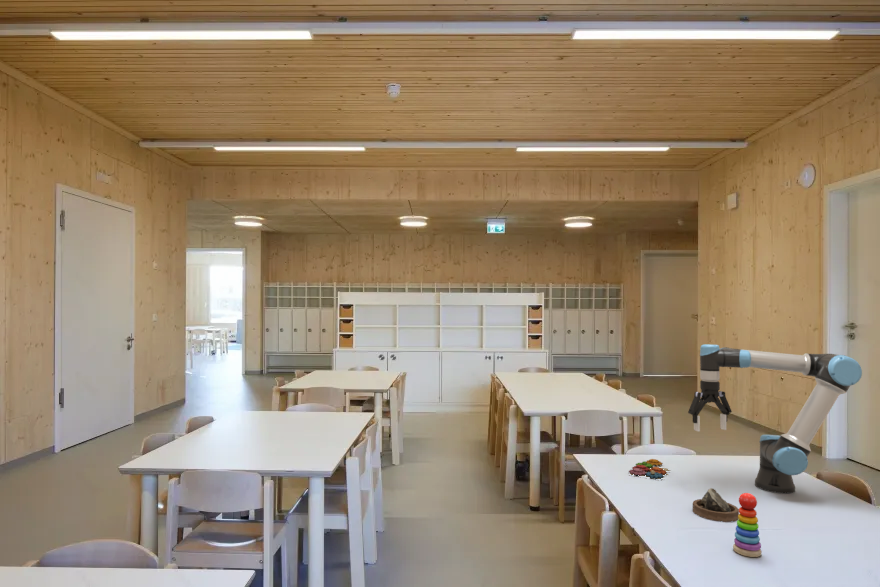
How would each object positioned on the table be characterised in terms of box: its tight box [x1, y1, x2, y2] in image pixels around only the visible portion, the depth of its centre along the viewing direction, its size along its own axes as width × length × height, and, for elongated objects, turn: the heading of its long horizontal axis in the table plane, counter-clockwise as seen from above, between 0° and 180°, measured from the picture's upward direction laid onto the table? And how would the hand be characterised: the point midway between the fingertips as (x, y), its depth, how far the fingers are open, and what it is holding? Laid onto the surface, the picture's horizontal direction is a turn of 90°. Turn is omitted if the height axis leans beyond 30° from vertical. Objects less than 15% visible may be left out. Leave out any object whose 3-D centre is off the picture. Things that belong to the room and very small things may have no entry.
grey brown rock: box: [701, 487, 731, 512], centre depth 211 cm, size 11×9×10 cm
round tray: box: [692, 498, 740, 523], centre depth 211 cm, size 15×15×3 cm
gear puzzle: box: [628, 458, 671, 479], centre depth 268 cm, size 31×16×4 cm, turn 149°
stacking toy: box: [732, 492, 762, 558], centre depth 178 cm, size 8×8×19 cm
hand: (710, 430), depth 240 cm, fingers open, 13 cm apart
